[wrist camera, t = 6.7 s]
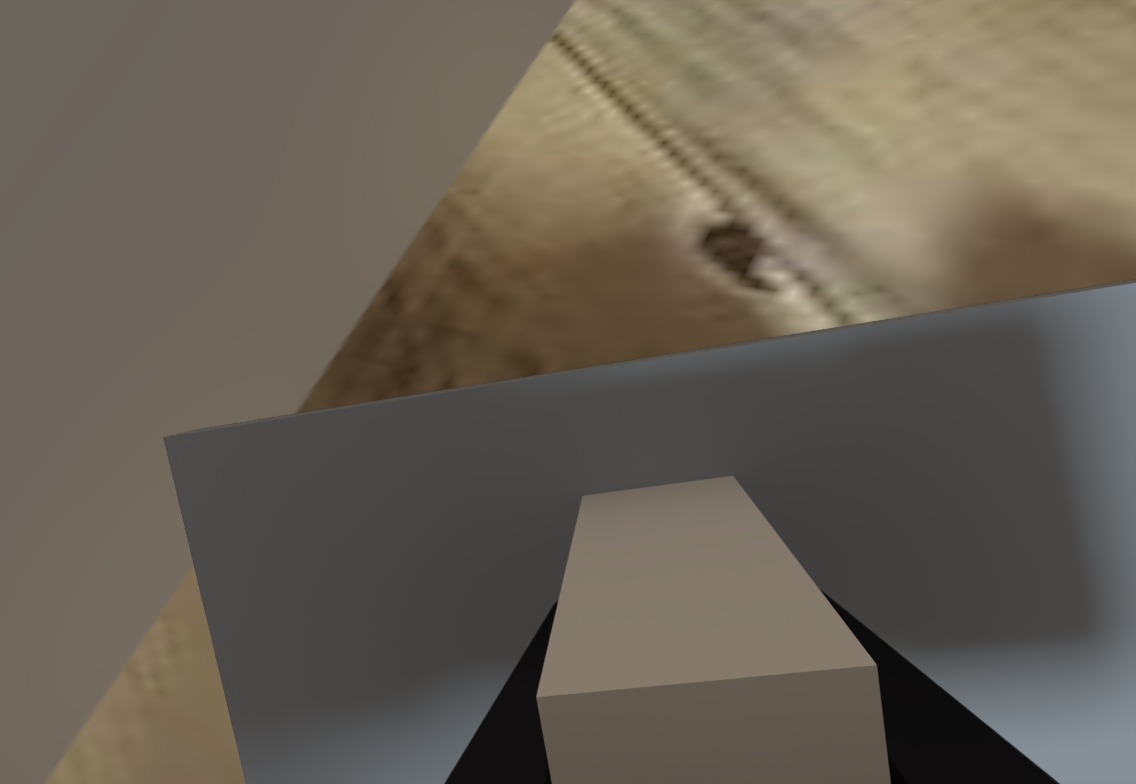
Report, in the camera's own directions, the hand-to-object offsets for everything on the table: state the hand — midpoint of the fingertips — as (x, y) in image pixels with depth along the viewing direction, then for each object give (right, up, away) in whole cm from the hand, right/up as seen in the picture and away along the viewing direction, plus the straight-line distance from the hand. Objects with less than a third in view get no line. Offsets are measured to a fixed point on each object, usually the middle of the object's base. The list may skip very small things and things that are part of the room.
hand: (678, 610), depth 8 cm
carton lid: (0, -1, +2) cm, 3 cm away
